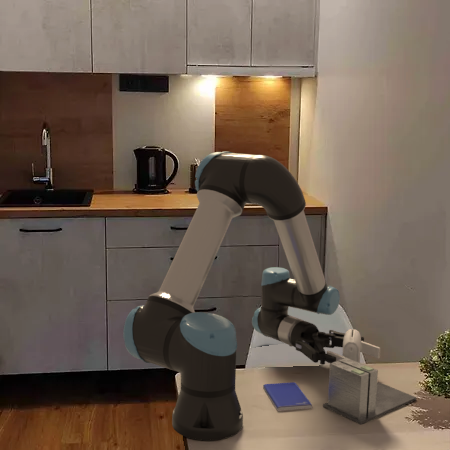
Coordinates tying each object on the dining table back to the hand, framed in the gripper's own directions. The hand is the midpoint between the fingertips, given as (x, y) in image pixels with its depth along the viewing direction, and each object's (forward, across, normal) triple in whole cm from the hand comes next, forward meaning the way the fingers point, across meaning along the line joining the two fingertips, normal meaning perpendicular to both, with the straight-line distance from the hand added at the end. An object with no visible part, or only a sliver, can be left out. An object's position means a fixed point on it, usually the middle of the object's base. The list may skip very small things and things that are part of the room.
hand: (363, 358), depth 175 cm
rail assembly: (+8, +7, -7) cm, 13 cm away
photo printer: (-4, 0, -7) cm, 8 cm away
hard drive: (-6, +20, -7) cm, 22 cm away
